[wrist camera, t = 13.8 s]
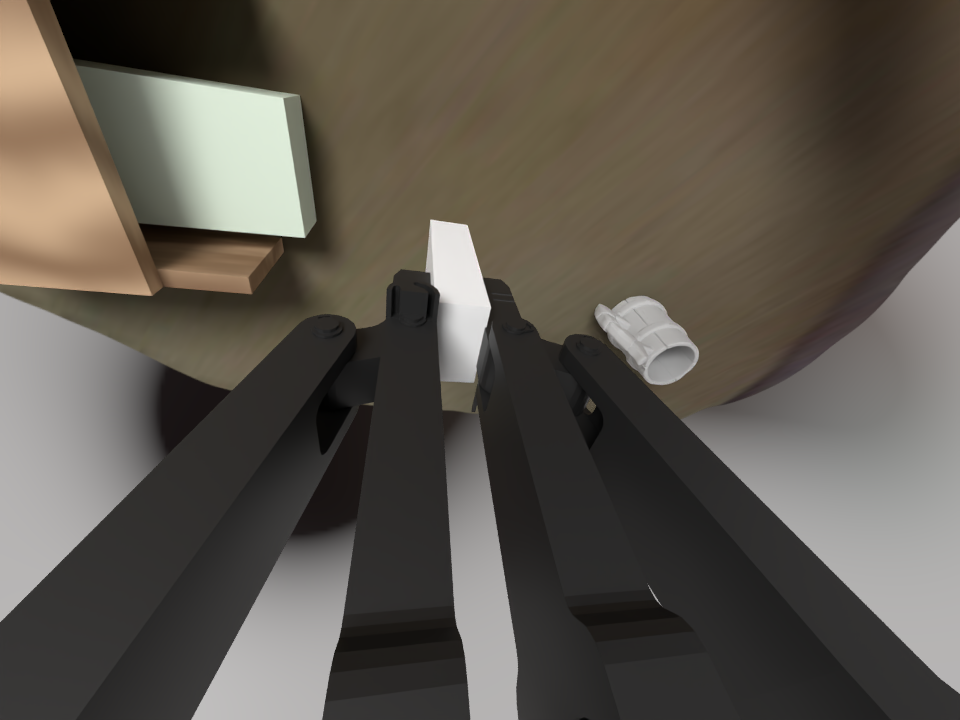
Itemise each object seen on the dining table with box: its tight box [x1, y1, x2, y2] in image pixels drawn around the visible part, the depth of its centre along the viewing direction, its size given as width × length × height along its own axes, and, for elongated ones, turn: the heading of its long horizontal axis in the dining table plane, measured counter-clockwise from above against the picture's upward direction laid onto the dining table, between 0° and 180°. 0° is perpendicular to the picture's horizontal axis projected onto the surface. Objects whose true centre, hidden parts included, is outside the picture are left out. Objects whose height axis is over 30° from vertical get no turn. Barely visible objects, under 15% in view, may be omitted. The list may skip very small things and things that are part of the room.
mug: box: [594, 296, 699, 385], centre depth 42 cm, size 8×12×12 cm, turn 63°
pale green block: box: [73, 59, 317, 238], centre depth 28 cm, size 10×20×6 cm, turn 82°
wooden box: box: [0, 0, 284, 296], centre depth 23 cm, size 21×24×10 cm
